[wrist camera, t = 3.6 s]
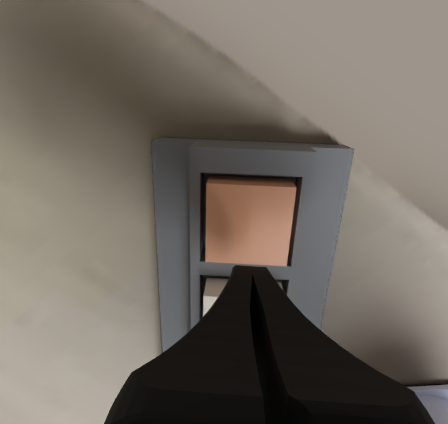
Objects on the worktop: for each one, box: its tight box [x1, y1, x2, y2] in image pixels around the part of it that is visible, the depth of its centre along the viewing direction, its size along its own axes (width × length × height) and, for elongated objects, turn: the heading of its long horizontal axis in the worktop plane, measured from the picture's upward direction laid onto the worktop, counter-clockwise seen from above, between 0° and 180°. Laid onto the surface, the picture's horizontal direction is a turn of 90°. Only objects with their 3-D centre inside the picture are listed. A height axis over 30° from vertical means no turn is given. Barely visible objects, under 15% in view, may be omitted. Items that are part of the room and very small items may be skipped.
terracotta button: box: [205, 175, 297, 266], centre depth 14 cm, size 4×4×2 cm
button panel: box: [151, 138, 354, 352], centre depth 17 cm, size 18×10×3 cm, turn 178°
